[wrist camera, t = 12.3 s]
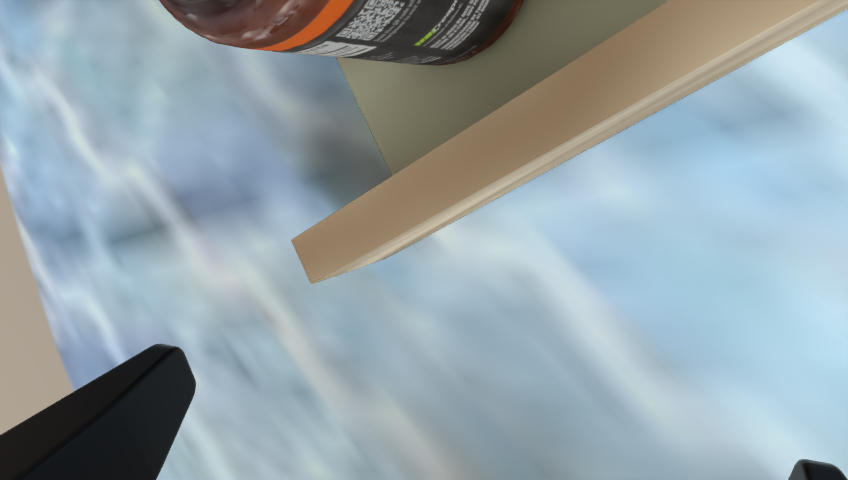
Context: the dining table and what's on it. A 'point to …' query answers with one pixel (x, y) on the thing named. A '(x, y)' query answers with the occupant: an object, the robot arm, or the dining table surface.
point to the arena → (531, 106)
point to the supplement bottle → (353, 26)
